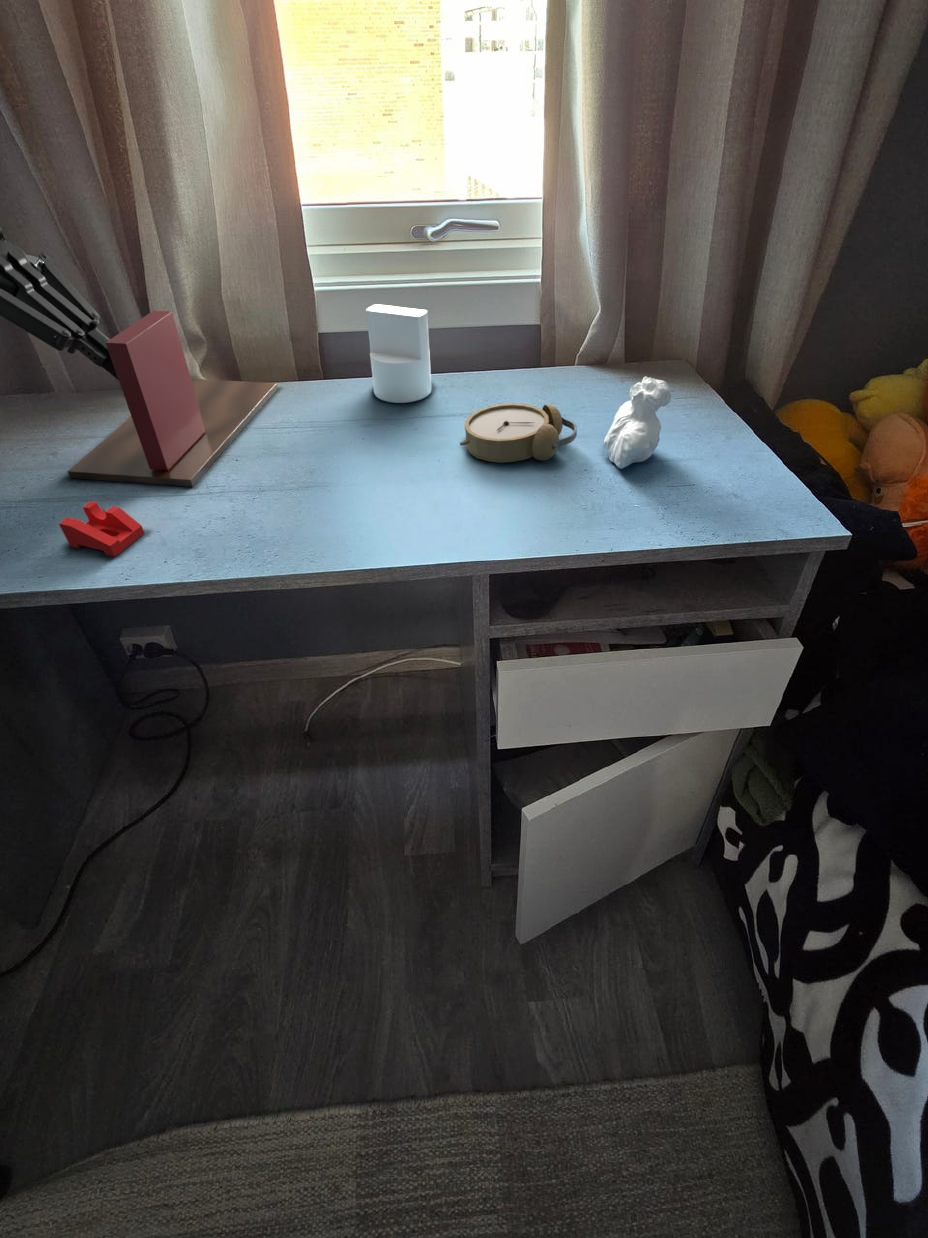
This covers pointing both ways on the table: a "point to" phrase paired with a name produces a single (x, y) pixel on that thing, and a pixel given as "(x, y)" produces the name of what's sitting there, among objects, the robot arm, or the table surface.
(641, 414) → the white tied bag
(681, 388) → the table surface
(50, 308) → the robot arm
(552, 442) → the alarm clock
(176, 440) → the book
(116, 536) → the bracket
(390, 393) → the cylinder with rectangular tab
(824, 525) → the table surface
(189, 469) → the stand
